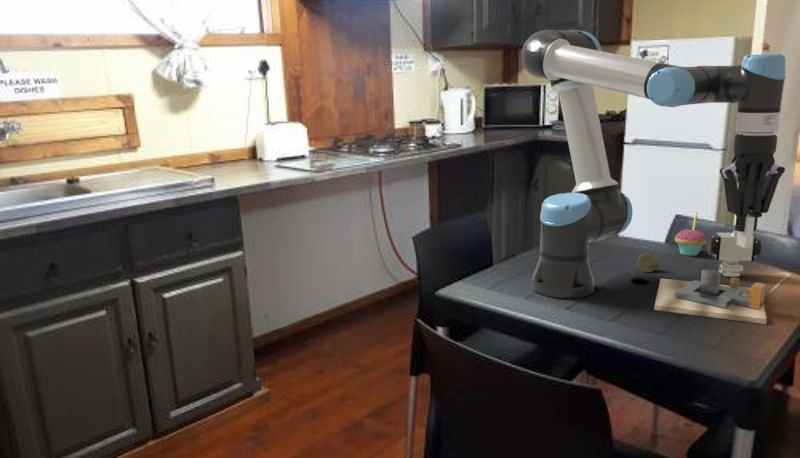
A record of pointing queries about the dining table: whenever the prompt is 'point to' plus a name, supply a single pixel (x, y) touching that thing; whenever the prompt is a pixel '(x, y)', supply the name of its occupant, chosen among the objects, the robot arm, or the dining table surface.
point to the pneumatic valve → (731, 252)
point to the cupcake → (690, 240)
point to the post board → (709, 287)
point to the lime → (647, 262)
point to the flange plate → (724, 295)
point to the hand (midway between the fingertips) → (743, 245)
